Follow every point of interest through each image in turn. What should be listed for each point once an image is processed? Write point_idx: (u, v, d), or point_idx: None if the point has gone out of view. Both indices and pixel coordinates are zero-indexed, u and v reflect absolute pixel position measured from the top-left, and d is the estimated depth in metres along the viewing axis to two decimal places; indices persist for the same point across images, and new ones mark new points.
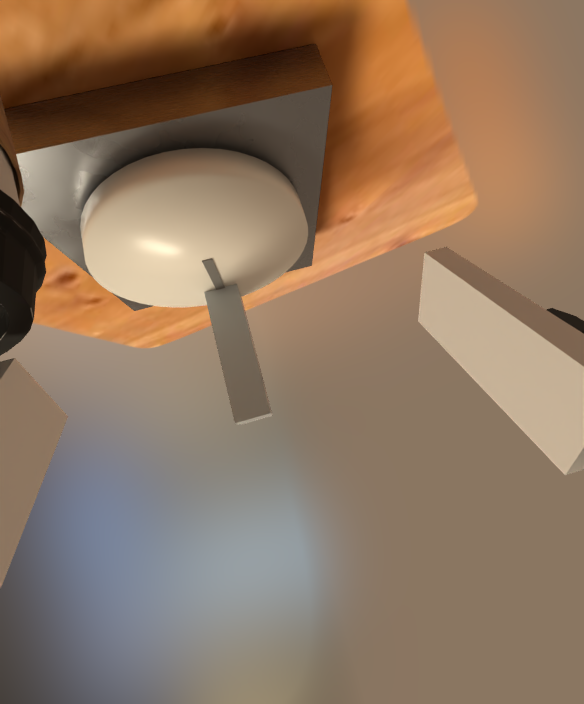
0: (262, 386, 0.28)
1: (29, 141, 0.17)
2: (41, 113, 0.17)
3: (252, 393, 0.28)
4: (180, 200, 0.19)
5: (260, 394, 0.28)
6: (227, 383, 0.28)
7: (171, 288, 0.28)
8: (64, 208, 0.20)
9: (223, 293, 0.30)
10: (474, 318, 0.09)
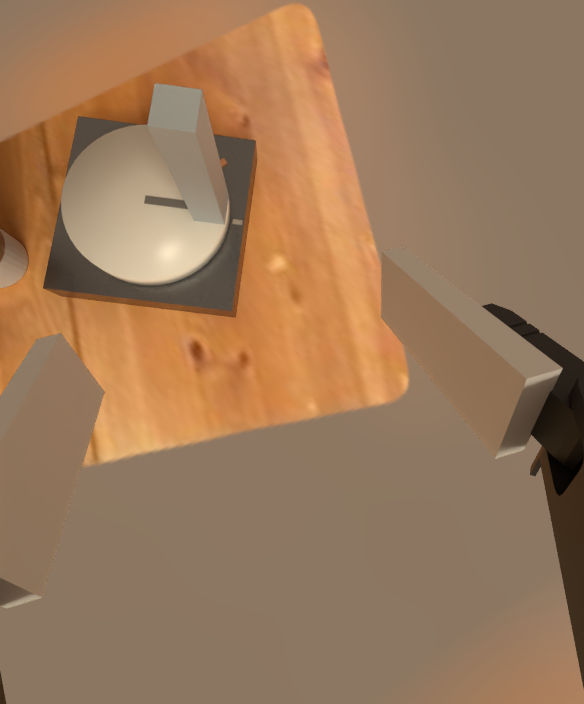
0: None
1: None
2: None
3: None
4: (77, 190, 0.33)
5: None
6: (165, 160, 0.25)
7: (168, 239, 0.33)
8: (87, 268, 0.34)
9: None
10: (421, 313, 0.10)
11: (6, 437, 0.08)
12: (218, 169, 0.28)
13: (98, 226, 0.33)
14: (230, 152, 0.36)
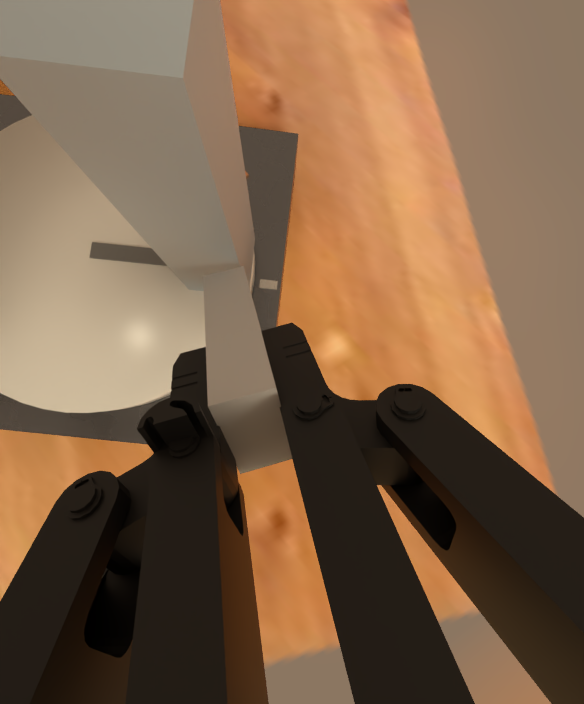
0: None
1: None
2: None
3: None
4: None
5: None
6: None
7: (139, 329, 0.17)
8: None
9: None
10: None
11: None
12: (243, 195, 0.12)
13: None
14: (252, 154, 0.20)
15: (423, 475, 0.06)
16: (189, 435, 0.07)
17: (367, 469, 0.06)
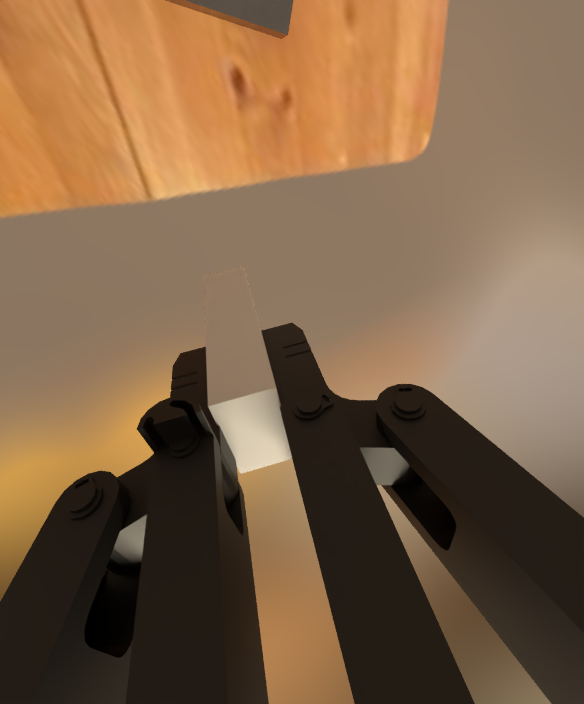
0: None
1: None
2: None
3: None
4: None
5: None
6: None
7: None
8: None
9: None
10: None
11: None
12: None
13: None
14: None
15: (423, 475, 0.06)
16: (189, 435, 0.07)
17: (367, 469, 0.06)
